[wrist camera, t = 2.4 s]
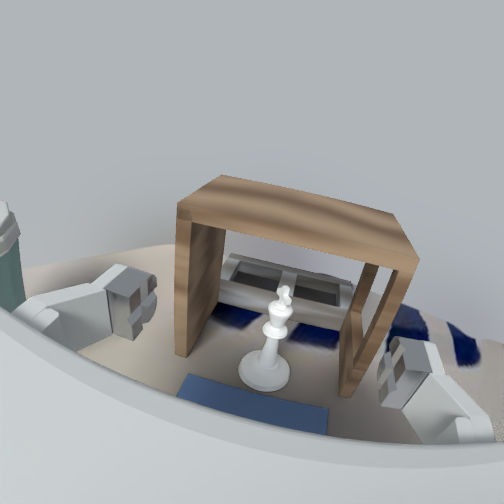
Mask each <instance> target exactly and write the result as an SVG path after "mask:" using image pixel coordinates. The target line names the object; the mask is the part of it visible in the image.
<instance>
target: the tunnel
mask: <svg viewBox="0 0 504 504" xmlns="http://www.w3.org/2000/svg"><path fill="white" fill-rule="evenodd" d="M226 230H231V231H235V232H239V233H243V234H248V235H252V236H257V237H261V238H265V239H270V240H274V241H278V242H282V243H287V244H291V245H295V246H299V247H304V248H308V249H312V250H316V251H321V252H325V253H329V254H333V255H337V256H342V257H346V258H350V259H354V260H359V261H362V262H366V263H365V266H364V269H363V271H362V274H361V277H360V280H359V283H358V285H357V288H356V291H355V293H354V296H353V298H352V287H351V281H347V280H343V279H339V278H334V277H330V276H326V275H322V274H317V273H313V272H309V271H305V270H301V269H296V268H292V267H288V266H284V265H279V264H275V263H271V262H267V261H262V260H259V259H254V258H250V257H246V256H242V255H237V254H233V253H231V254H230V256H229V257H228V258H227V260H226V261H225V263H224V265H223V266H222V260H223V251H224V243H225V235H226ZM175 242H176V243H175V278H174V332H175V354H177V355H180V356H183V357H187V356H188V354H189V352H190V350H191V349H192V347H193V345H194V343H195V341H196V340H197V338H198V336H199V334H200V333H201V331H202V329H203V327H204V325H205V324H206V322H207V320H208V318H209V317H210V315H211V313H212V311H213V309H214V308H215V306H216V304H217V302H222V303H225V304H229V305H233V306H237V307H240V308H244V309H248V310H252V311H256V312H260V313H264V314H268V315H269V311H268V306H269V304H270V303H271V302H272V301H275V300H279V298H280V297H279V295H278V294H277V293H276V292H277V288H282V286H288V287H289V288H290V290H289V294H288V296H289V297H290V298H291V300H292V301H291V306H292V308H293V313H292V315H291V316H290V317H289V318H288V320H293V321H297V322H301V323H305V324H310V325H314V326H319V327H323V328H328V329H332V330H337V331H340V356H339V395H338V396H342V397H348V398H350V397H351V396H352V394H353V392H354V391H355V389H356V387H357V386H358V384H359V382H360V381H361V379H362V377H363V376H364V374H365V372H366V370H367V369H368V367H369V365H370V363H371V362H372V360H373V358H374V356H375V354H376V352H377V351H378V349H379V347H380V345H381V343H382V341H383V339H384V337H385V335H386V333H387V331H388V329H389V327H390V325H391V323H392V321H393V319H394V317H395V315H396V313H397V311H398V309H399V307H400V304H401V302H402V300H403V298H404V295H405V293H406V291H407V289H408V286H409V284H410V282H411V280H412V277H413V275H414V272H415V270H416V267H417V265H418V263H419V260H420V259H419V257H418V256H417V254H416V252H415V250H414V249H413V247H412V245H411V243H410V241H409V240H408V238H407V236H406V235H405V233H404V231H403V230H402V228H401V226H400V225H399V223H398V221H397V220H396V218H395V217H394V215H393V214H391V213H387V212H384V211H380V210H376V209H373V208H369V207H365V206H361V205H357V204H353V203H350V202H346V201H342V200H338V199H333V198H329V197H325V196H321V195H317V194H312V193H308V192H304V191H299V190H295V189H290V188H285V187H281V186H276V185H272V184H267V183H262V182H257V181H252V180H247V179H241V178H236V177H231V176H225V175H220V176H219V177H217V178H215V179H214V180H212V181H211V182H209V183H207V184H206V185H204V186H203V187H201V188H200V189H198V190H197V191H195V192H193V193H192V194H190V195H189V196H187V197H186V198H184V199H183V200H181V201H180V202H178V203H177V220H176V241H175ZM379 266H382V267H386V268H391V269H393V272H392V274H391V277H390V280H389V282H388V285H387V287H386V290H385V292H384V294H383V297H382V299H381V301H380V304H379V306H378V308H377V310H376V313H375V315H374V317H373V319H372V322H371V324H370V326H369V328H368V330H367V332H366V335H365V337H364V339H363V329H362V319H361V311H362V309H363V306H364V304H365V302H366V299H367V297H368V294H369V292H370V289H371V286H372V284H373V281H374V278H375V276H376V273H377V271H378V268H379Z"/></svg>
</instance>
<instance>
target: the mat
mask: <svg viewBox="0 0 504 504" xmlns="http://www.w3.org/2000/svg"><path fill="white" fill-rule="evenodd" d="M176 397H179V398H182V399H185V400H188V401H191V402H194V403H197V404H200V405H203V406H206V407H209V408H212V409H215V410H219V411H222V412H225V413H229V414H232V415H236V416H239V417H243V418H247V419H250V420H254V421H258V422H262V423H266V424H271V425H275V426H279V427H284V428H289V429H293V430H298V431H303V432H309V433H314V434H320V435H326V431H327V420H328V409H327V408H322V407H316V406H311V405H306V404H301V403H296V402H291V401H287V400H282V399H278V398H274V397H270V396H265V395H261V394H257V393H253V392H250V391H246V390H242V389H239V388H235V387H231V386H228V385H224V384H221V383H218V382H214V381H211V380H208V379H205V378H201V377H198V376H195V375H192V374H189V373H188V375H187V377H186V379H185V381H184V383H183V385H182V386H181V388H180V390H179V392H178V394H177V396H176Z"/></svg>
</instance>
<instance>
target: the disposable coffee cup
mask: <svg viewBox="0 0 504 504" xmlns="http://www.w3.org/2000/svg"><path fill="white" fill-rule="evenodd" d="M20 234H21V233H20V230H19V227H18V225H17V222H16V219H15V216H14V213H12V212H10V211H9V209H8V204H7V203H6V202H4V201H1V200H0V307H2V308H3V309H5V310H6V311H8V312H9V313H11V312H13V311H14V310H15V309H16V308H17V307H19V306H20V305H21V304H22V303H24V302H25V301H26V297H25V291H24V285H23V278H22V270H21V262H20V253H19V241H18V237H19V235H20Z"/></svg>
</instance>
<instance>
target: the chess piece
mask: <svg viewBox="0 0 504 504" xmlns="http://www.w3.org/2000/svg"><path fill="white" fill-rule="evenodd" d="M289 290H290V288H289V287H288V286H282V288H277V292H276V293H277V294H278V295H279V297H280V298H279V300H275V301H272V302H271V303H270V304H269V306H268V311H269V315H270V321H268V322H266V323H265V325H264V326H263V332H264V334H265V335H266V336H267V339H266V342H265V344H264V346H263V349H262V350H256V351H252V352H250V353H248V354H246V355H245V356H244V357H243V358H242V360H241V362H240V365H239V369H238V371H239V375H240V378H241V379H242V381H243V382H244V383H245V384H246V385H248V386H249V387H251V388H253V389H255V390H258V391H263V392H271V391H276V390H279V389H281V388H282V387H284V386H285V385H286V383H287V382H288V380H289V374H290V368H289V365H288V363H287V361H286V360H285V359H284V358H283V357H282V356H280V355H279V354H277V351H278V343H279V339H282V338H284V337H286V336H287V333H288V331H287V327H286V326H285V325H284V324H285V323H286V321H287V320H288V318H289V317H290V316H291V315H292V313H293V308H292V306H291V301H292V300H291V298H290V297H289V296H288V294H289Z"/></svg>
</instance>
